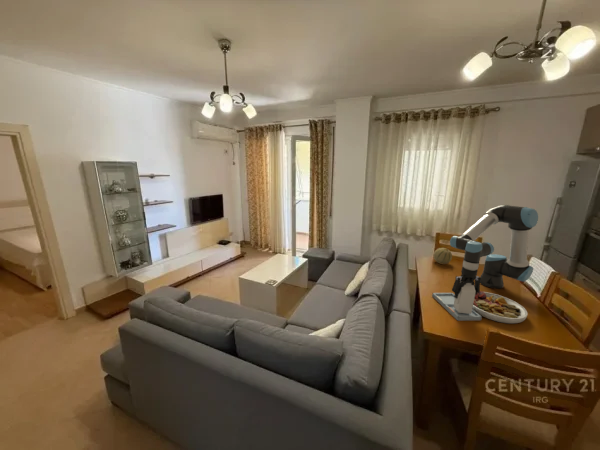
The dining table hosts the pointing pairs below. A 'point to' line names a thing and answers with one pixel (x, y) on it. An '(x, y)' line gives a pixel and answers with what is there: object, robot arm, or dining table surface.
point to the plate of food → (498, 308)
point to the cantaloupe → (442, 255)
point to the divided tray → (448, 304)
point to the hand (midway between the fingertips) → (463, 302)
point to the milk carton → (466, 299)
